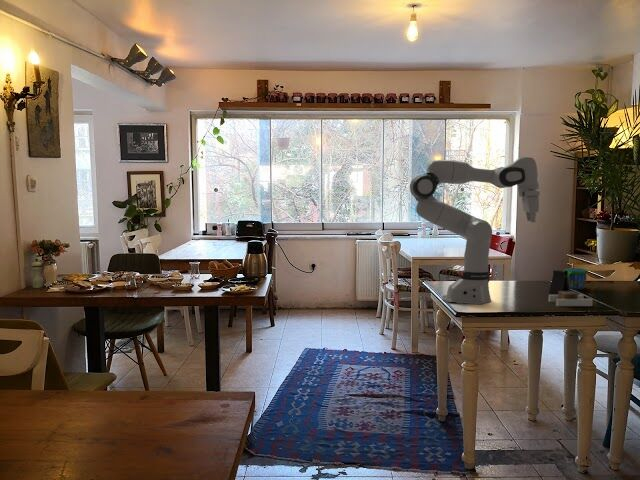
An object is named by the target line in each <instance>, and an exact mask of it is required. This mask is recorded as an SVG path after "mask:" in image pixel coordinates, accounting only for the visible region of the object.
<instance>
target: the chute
mask: <svg viewBox="0 0 640 480" xmlns="http://www.w3.org/2000/svg"><path fill="white" fill-rule="evenodd" d="M584 296H585V295H584V294H578V299H558V294H548V302H549V303H551V304H553V305H555V306H556V307H593V302H594V301H593V298H584Z"/></svg>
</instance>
